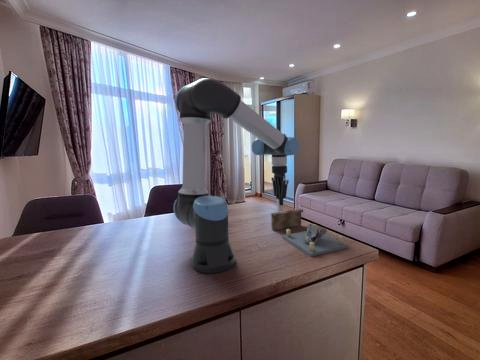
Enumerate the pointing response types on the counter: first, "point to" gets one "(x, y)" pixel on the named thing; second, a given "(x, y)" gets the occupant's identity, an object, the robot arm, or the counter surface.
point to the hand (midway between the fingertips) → (280, 210)
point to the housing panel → (286, 219)
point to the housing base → (313, 249)
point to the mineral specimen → (313, 233)
